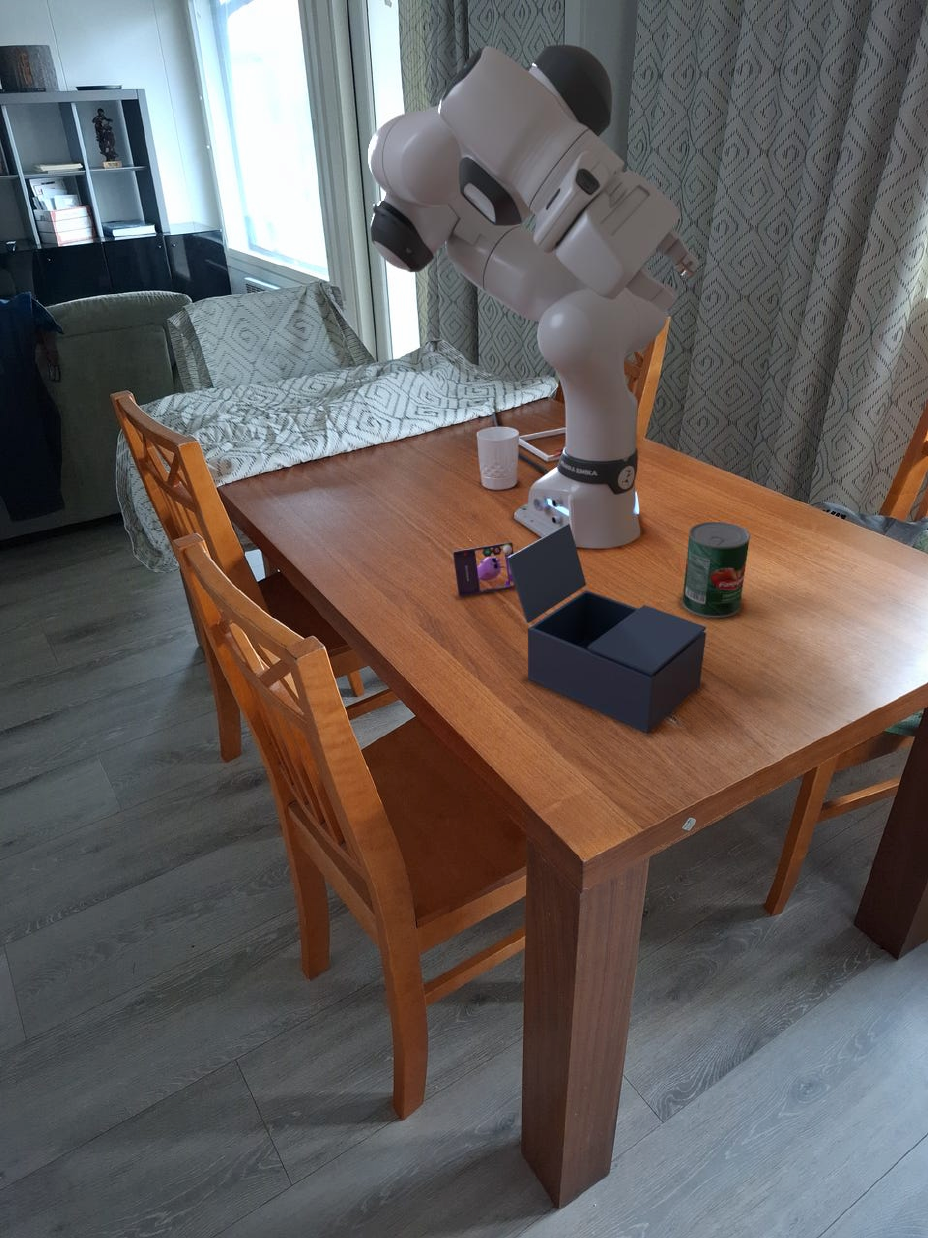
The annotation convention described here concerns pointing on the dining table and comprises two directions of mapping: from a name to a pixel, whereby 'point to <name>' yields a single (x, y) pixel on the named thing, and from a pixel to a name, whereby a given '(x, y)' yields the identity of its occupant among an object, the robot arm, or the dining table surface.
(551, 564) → the flap
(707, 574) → the canned tomato
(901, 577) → the dining table surface
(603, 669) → the carton
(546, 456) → the photo frame
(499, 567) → the game card
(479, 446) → the white cup
